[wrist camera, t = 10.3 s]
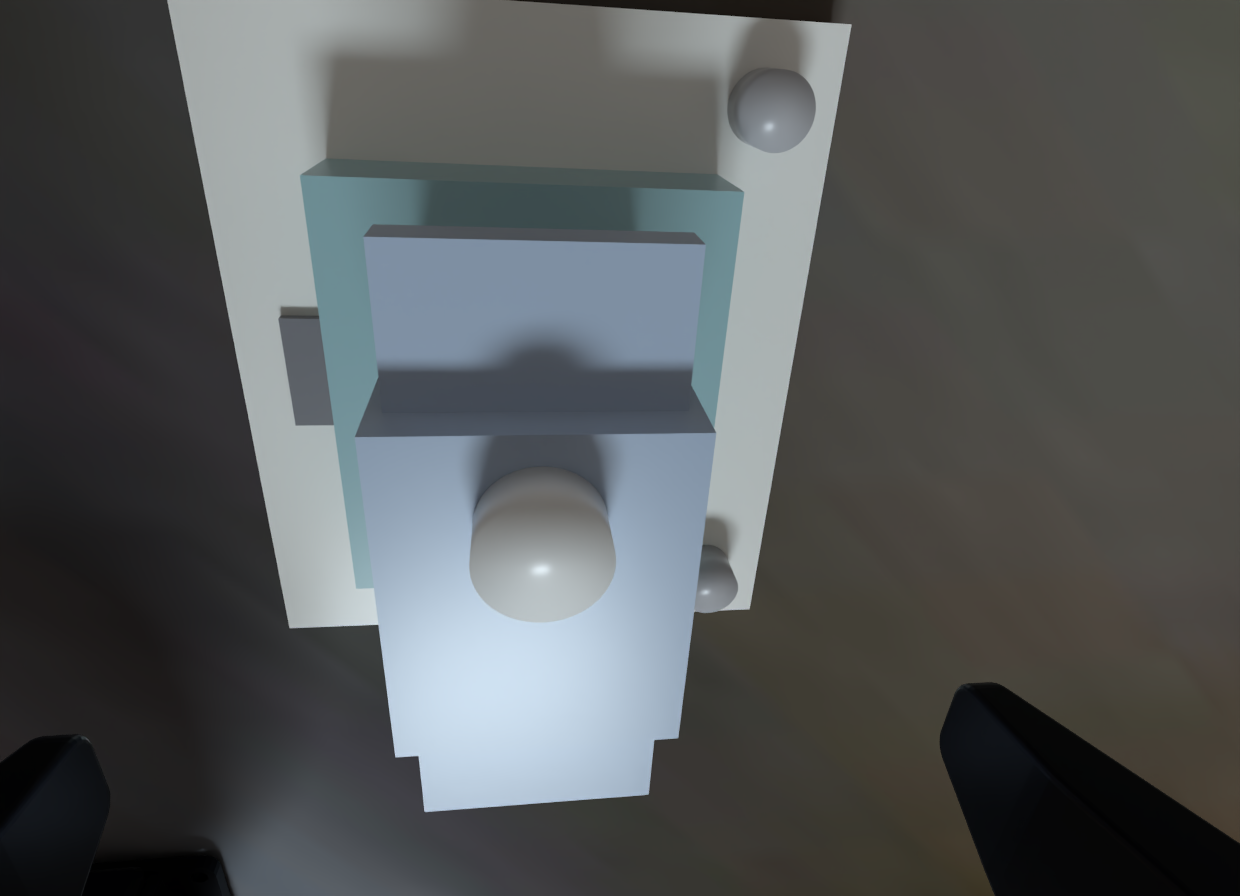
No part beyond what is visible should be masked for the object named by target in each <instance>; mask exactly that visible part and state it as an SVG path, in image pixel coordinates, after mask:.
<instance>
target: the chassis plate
mask: <svg viewBox="0 0 1240 896" xmlns="http://www.w3.org/2000/svg"><path fill="white" fill-rule="evenodd" d="M167 1H168V6H169V11H170V16H171V22H172V27H173V32H174V37H175V42H176V47H177V52H178V58H179V63H180V68H181V73H182V78H183V83H184V88H185V93H186V99H187V104H188V109H189V114H190V119H191V124H192V129H193V135H194V140H195V145H196V150H197V155H198V160H199V165H200V171H201V176H202V181H203V186H204V191H205V196H206V201H207V206H208V212H209V217H210V222H211V227H212V232H213V237H214V242H215V248H216V253H217V258H218V263H219V268H220V273H221V278H222V284H223V289H224V294H225V299H226V304H227V309H228V314H229V319H230V325H231V330H232V335H233V340H234V345H235V350H236V355H237V361H238V366H239V371H240V376H241V381H242V386H243V391H244V397H245V402H246V407H247V412H248V417H249V422H250V427H251V433H252V438H253V443H254V448H255V453H256V458H257V463H258V468H259V474H260V479H261V484H262V489H263V494H264V499H265V504H266V510H267V515H268V520H269V525H270V530H271V535H272V540H273V546H274V551H275V556H276V561H277V566H278V571H279V576H280V581H281V587H282V592H283V597H284V602H285V607H286V612H287V617H288V623H289V628H307V627H331V626H355V625H379V624H378V616H377V609H376V601H375V593H374V585H373V577H372V569H371V562H370V554H369V546H368V538H367V530H366V523H365V515H364V507H363V499H362V491H361V483H360V476H359V468H358V460H357V452H356V444H355V435H356V432H357V430H358V427H359V425H360V422H361V420H362V417H363V415H364V412H365V410H366V407H367V405H368V402H369V399H370V397H371V394H372V392H373V389H374V387H375V384H376V382H377V379H378V370H377V360H376V351H375V342H374V332H373V323H372V313H371V304H370V295H369V285H368V276H367V267H366V257H365V248H364V239H363V236H364V235H365V234H366V232H367V231H368V230H369V229H370V227H371V226H372V225H373V224H381V225H421V226H460V227H500V228H539V229H579V230H618V231H658V232H694V233H695V234H696V235H697V236H698V237H699V238H700V239H701V240H702V241H703V242H704V243H705V244H706V249H705V258H704V268H703V277H702V287H701V297H700V306H699V316H698V325H697V335H696V344H695V354H694V364H693V373H692V383H691V386H692V387H693V389H694V391H695V393H696V395H697V397H698V399H699V401H700V403H701V405H702V407H703V408H704V410H705V412H706V414H707V416H708V418H709V420H710V422H711V424H712V426H713V428H714V429H715V431H716V440H715V448H714V456H713V464H712V472H711V480H710V488H709V496H708V504H707V512H706V520H705V528H704V536H703V544H702V552H701V560H700V568H699V575H698V583H697V591H696V599H695V607H694V611H697V612H702V613H711V612H716V611H719V610H742V609H750V603H751V598H752V592H753V586H754V580H755V575H756V569H757V563H758V558H759V552H760V546H761V540H762V535H763V529H764V523H765V517H766V512H767V506H768V500H769V494H770V489H771V483H772V477H773V472H774V466H775V460H776V454H777V449H778V443H779V437H780V431H781V426H782V420H783V414H784V408H785V403H786V397H787V391H788V386H789V380H790V374H791V368H792V363H793V357H794V351H795V345H796V340H797V334H798V328H799V322H800V317H801V311H802V305H803V300H804V294H805V288H806V282H807V277H808V271H809V265H810V259H811V254H812V248H813V242H814V236H815V231H816V225H817V219H818V214H819V208H820V202H821V196H822V191H823V185H824V179H825V173H826V168H827V162H828V156H829V150H830V145H831V139H832V133H833V128H834V122H835V116H836V110H837V105H838V99H839V93H840V87H841V82H842V76H843V70H844V64H845V59H846V53H847V47H848V42H849V36H850V30H851V24H838V23H823V22H809V21H795V20H781V19H767V18H752V17H738V16H724V15H710V14H696V13H682V12H667V11H653V10H639V9H625V8H611V7H596V6H582V5H568V4H554V3H540V2H526V1H511V0H167Z"/></svg>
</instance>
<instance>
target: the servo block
mask: <svg viewBox="0 0 1240 896" xmlns="http://www.w3.org/2000/svg"><path fill="white" fill-rule="evenodd" d="M363 239H364V248H365V257H366V267H367V276H368V285H369V295H370V304H371V313H372V323H373V332H374V342H375V351H376V360H377V370H378V379H377V382H376V384H375V387H374V389H373V392H372V394H371V397H370V399H369V402H368V405H367V407H366V410H365V412H364V415H363V417H362V420H361V422H360V425H359V427H358V430H357V432H356V435H355V444H356V452H357V460H358V468H359V476H360V483H361V491H362V499H363V507H364V515H365V523H366V530H367V538H368V546H369V554H370V562H371V569H372V577H373V585H374V593H375V601H376V609H377V616H378V624H379V632H380V640H381V648H382V656H383V663H384V671H385V679H386V687H387V695H388V702H389V710H390V718H391V726H392V734H393V742H394V749H395V757H408V756H419V763H420V773H421V782H422V791H423V801H424V810H425V812H431V811H444V810H456V809H469V808H482V807H495V806H508V805H521V804H534V803H547V802H559V801H572V800H585V799H598V798H611V797H624V796H637V795H649V785H650V776H651V766H652V756H653V747H654V740H659V739H674V738H678V735H679V727H680V719H681V711H682V703H683V695H684V687H685V679H686V671H687V663H688V655H689V647H690V639H691V631H692V623H693V615H694V607H695V599H696V591H697V583H698V575H699V568H700V560H701V552H702V544H703V536H704V528H705V520H706V512H707V504H708V496H709V488H710V480H711V472H712V464H713V456H714V448H715V440H716V431H715V429H714V428H713V426H712V424H711V422H710V420H709V418H708V416H707V414H706V412H705V410H704V408H703V407H702V405H701V403H700V401H699V399H698V397H697V395H696V393H695V391H694V389H693V387H692V386H691V383H692V373H693V364H694V354H695V344H696V335H697V325H698V316H699V306H700V297H701V287H702V277H703V268H704V258H705V249H706V244H705V243H704V242H703V241H702V240H701V239H700V238H699V237H698V236H697V235H696V234H695V233H694V232H658V231H618V230H579V229H539V228H500V227H460V226H421V225H381V224H373V225H372V226H371V227H370V229H369V230H368V231H367V232H366V234H365V235H364V236H363Z"/></svg>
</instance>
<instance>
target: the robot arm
mask: <svg viewBox="0 0 1240 896" xmlns="http://www.w3.org/2000/svg"><path fill="white" fill-rule="evenodd" d="M940 750H941V755H942V758H943V761H944V763H945V766H946V769H947V771H948V774H949V777H950V779H951V782H952V785H953V787H954V790H955V793H956V795H957V798H958V801H959V803H960V806H961V809H962V811H963V814H964V817H965V819H966V822H967V825H968V827H969V830H970V833H971V835H972V838H973V841H974V843H975V846H976V849H977V851H978V854H979V857H980V859H981V862H982V865H983V867H984V870H985V873H986V875H987V878H988V880H989V882H990V885H991V887H992V890H993V892H994V895H995V896H1240V843H1238V842H1237V841H1235V840H1234V839H1232V838H1231V837H1229V836H1228V835H1226V834H1225V833H1223V832H1222V831H1220V830H1219V829H1217V828H1216V827H1214V826H1213V825H1211V824H1210V823H1208V822H1207V821H1205V820H1204V819H1202V818H1201V817H1199V816H1198V815H1196V814H1195V813H1193V812H1192V811H1190V810H1189V809H1187V808H1186V807H1184V806H1183V805H1181V804H1180V803H1178V802H1177V801H1175V800H1174V799H1172V798H1171V797H1169V796H1168V795H1166V794H1165V793H1163V792H1162V791H1160V790H1159V789H1157V788H1156V787H1154V786H1153V785H1151V784H1150V783H1148V782H1147V781H1145V780H1144V779H1142V778H1141V777H1139V776H1138V775H1136V774H1135V773H1133V772H1132V771H1130V770H1129V769H1127V768H1126V767H1124V766H1123V765H1121V764H1120V763H1118V762H1117V761H1115V760H1114V759H1112V758H1111V757H1109V756H1108V755H1106V754H1105V753H1103V752H1102V751H1100V750H1099V749H1097V748H1096V747H1094V746H1093V745H1091V744H1090V743H1088V742H1087V741H1085V740H1084V739H1082V738H1081V737H1079V736H1078V735H1076V734H1075V733H1073V732H1072V731H1070V730H1069V729H1067V728H1066V727H1064V726H1063V725H1061V724H1060V723H1058V722H1057V721H1055V720H1054V719H1052V718H1051V717H1049V716H1048V715H1046V714H1045V713H1043V712H1042V711H1040V710H1039V709H1037V708H1036V707H1034V706H1033V705H1031V704H1030V703H1028V702H1027V701H1025V700H1024V699H1022V698H1021V697H1019V696H1018V695H1016V694H1015V693H1013V692H1012V691H1010V690H1009V689H1007V688H1005V687H1004V686H1002V685H1000V684H997V683H993V682H986V683H968V684H963V685H961V686H960V687H959V688H958V689H957V690H956V692H955V694H954V697H953V700H952V702H951V705H950V708H949V711H948V713H947V716H946V719H945V722H944V724H943V727H942V730H941V733H940ZM109 807H110V792H109V788H108V785H107V782H106V780H105V777H104V775H103V772H102V769H101V767H100V764H99V762H98V759H97V757H96V754H95V752H94V749H93V747H92V744H91V742H90V741H89V739H87V738H86V737H85V736H83V735H78V734H74V735H56V736H42V737H38V738H35V739H33V740H31V741H29V742H28V743H26V744H25V745H23V746H22V747H20V748H19V749H18V750H16V751H15V752H14V753H12V754H11V755H10V756H8V757H7V758H6V759H4V760H3V761H2V762H0V896H230V893H229V890H228V886H227V883H226V880H225V877H224V874H223V870H222V867H221V864H220V862H219V861H218V860H217V859H215V858H214V857H210V856H203V855H200V856H187V857H174V858H162V859H149V860H137V861H124V862H112V863H99V864H92V862H93V859H94V856H95V853H96V850H97V847H98V844H99V841H100V838H101V835H102V832H103V829H104V826H105V823H106V820H107V816H108V813H109Z"/></svg>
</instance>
